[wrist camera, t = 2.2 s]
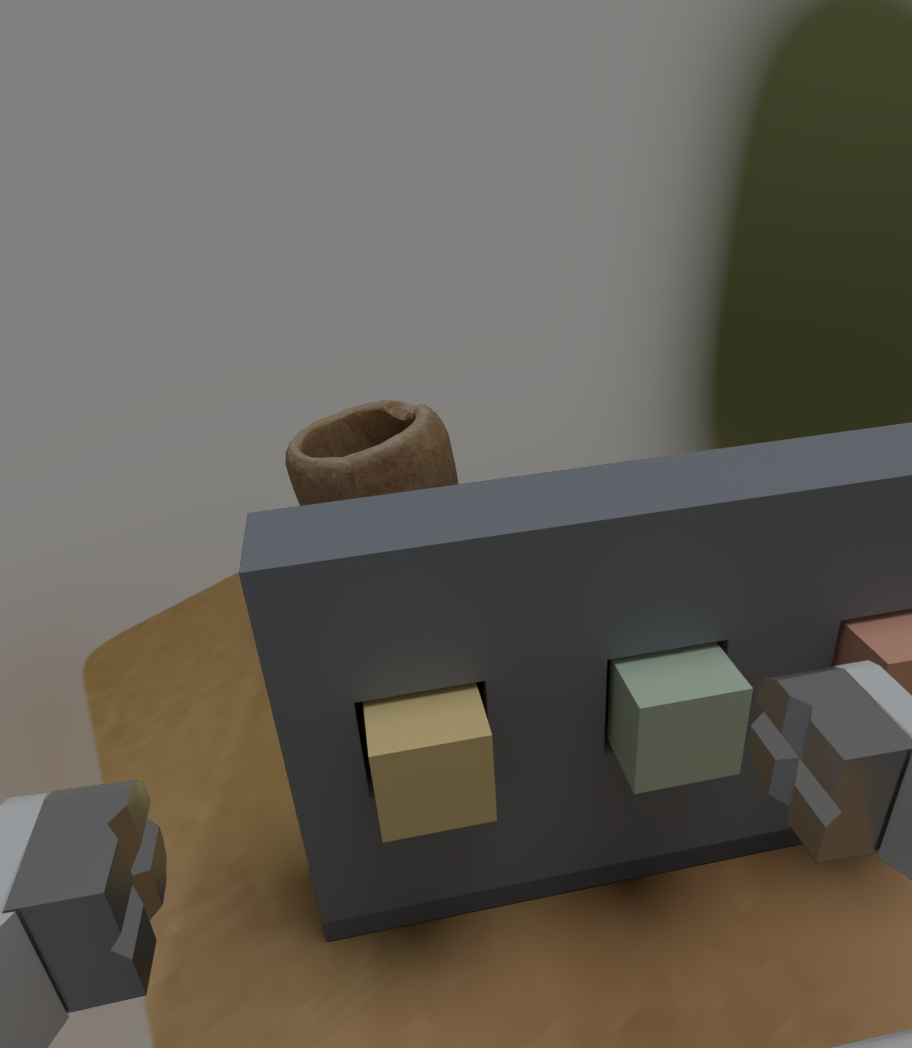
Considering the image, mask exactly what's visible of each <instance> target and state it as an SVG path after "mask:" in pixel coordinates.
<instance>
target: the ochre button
mask: <svg viewBox="0 0 912 1048" xmlns="http://www.w3.org/2000/svg"><path fill="white" fill-rule="evenodd" d="M363 707H364V717H365V727H366V737H367V747H368V757H369V763H370V769H371V775H372V781H373V787H374V793H375V799H376V805H377V811H378V817H379V823H380V829H381V835H382V841H383V843H384V842H389V841H394V840H399V839H404V838H410V837H415V836H420V835H425V834H430V833H436V832H441V831H446V830H451V829H456V828H461V827H467V826H472V825H477V824H482V823H487V822H493V821H497V810H496V792H495V775H494V758H493V741H492V733H491V730H490V726H489V723H488V720H487V717H486V713H485V710H484V707H483V704H482V700H481V697H480V694H479V690H478V687H477V684H476V682H474V683H469V684H463V685H457V686H451V687H445V688H439V689H433V690H427V691H421V692H415V693H409V694H404V695H398V696H392V697H386V698H380V699H374V700H368V701H363Z"/></svg>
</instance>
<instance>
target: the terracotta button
mask: <svg viewBox="0 0 912 1048" xmlns="http://www.w3.org/2000/svg"><path fill="white" fill-rule="evenodd" d="M867 660H869V661H871V662H873V663H876V664H878V665H879V666H881V667H882V668H883V669H884V670H885V671H886V672H887V673H888V674H889V675H890V676H891V677H892V678H893V679H895V680H896V681H897V682H898V683H899V684H900V685H901V686H902V687H903V688H904V689H905V690H906V691H907V692H908V693H909V694H910V695H911V696H912V609H906V610H900V611H894V612H888V613H882V614H876V615H870V616H865V617H859V618H853V619H847V620H841V623H840V628H839V633H838V637H837V642H836V647H835V651H834V656H833V661H832V665H831V668H832V667H834V666H838V665H844V664H849V663H855V662H861V661H867Z"/></svg>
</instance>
